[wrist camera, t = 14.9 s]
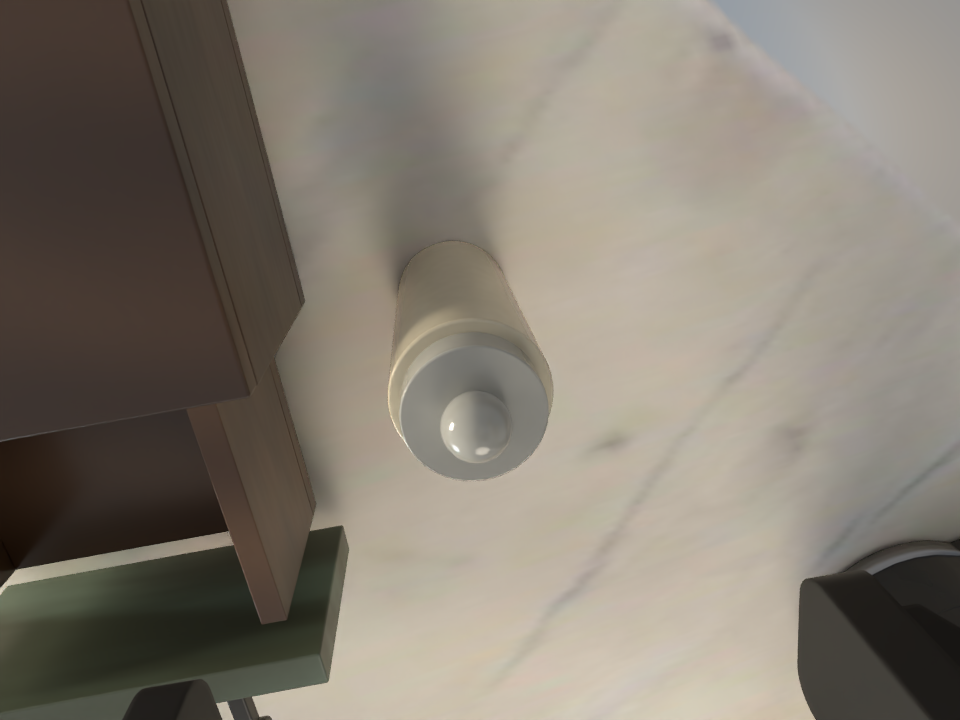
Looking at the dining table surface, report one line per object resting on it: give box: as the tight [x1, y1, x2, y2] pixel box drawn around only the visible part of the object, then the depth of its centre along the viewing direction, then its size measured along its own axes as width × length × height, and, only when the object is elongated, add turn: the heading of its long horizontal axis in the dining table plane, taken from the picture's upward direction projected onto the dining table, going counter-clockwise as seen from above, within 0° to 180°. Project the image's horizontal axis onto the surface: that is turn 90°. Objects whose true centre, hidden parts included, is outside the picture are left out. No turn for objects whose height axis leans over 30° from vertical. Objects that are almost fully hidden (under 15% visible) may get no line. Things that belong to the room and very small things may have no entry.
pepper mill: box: [388, 241, 553, 481], centre depth 19 cm, size 4×4×12 cm
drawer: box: [0, 357, 349, 720], centre depth 22 cm, size 18×13×7 cm
